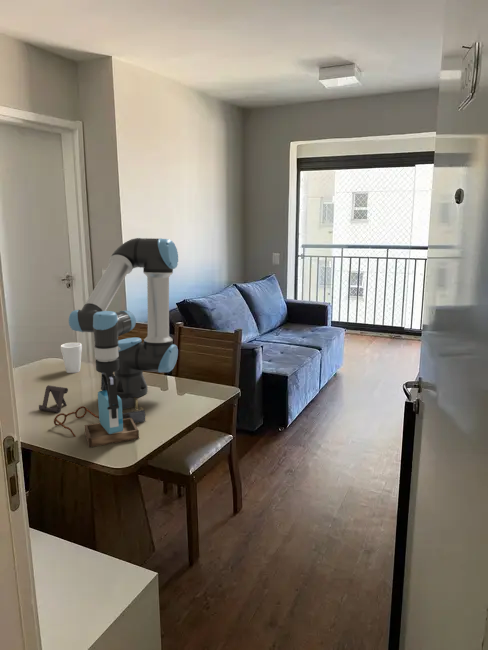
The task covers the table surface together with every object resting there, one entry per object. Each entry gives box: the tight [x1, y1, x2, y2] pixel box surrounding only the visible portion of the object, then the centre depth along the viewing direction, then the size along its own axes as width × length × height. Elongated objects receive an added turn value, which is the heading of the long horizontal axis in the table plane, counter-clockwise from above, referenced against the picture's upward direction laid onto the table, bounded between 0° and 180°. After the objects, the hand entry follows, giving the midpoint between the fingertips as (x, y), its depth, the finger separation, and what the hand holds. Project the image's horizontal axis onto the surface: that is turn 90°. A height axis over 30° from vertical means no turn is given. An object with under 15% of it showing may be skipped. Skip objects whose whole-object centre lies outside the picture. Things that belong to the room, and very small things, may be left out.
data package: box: [97, 390, 123, 434], centre depth 163 cm, size 12×4×12 cm, turn 33°
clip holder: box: [121, 396, 146, 424], centre depth 182 cm, size 9×16×4 cm, turn 24°
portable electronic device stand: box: [38, 385, 69, 414], centre depth 187 cm, size 9×8×8 cm
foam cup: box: [60, 342, 83, 374], centre depth 232 cm, size 10×9×13 cm
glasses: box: [53, 406, 99, 438], centre depth 172 cm, size 13×13×5 cm
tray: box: [84, 418, 140, 449], centre depth 164 cm, size 16×12×3 cm
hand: (110, 418), depth 163 cm, fingers open, 13 cm apart
